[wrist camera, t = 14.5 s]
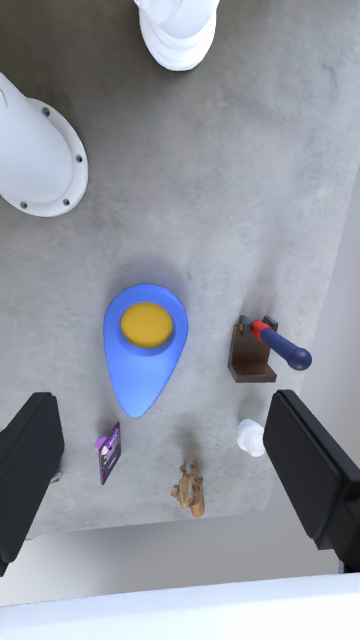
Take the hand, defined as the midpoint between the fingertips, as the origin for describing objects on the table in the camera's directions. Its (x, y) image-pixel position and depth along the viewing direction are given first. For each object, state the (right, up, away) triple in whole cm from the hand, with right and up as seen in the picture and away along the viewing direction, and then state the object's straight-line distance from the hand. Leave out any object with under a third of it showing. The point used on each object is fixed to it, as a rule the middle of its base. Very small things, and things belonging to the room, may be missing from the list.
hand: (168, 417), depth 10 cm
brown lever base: (+13, 0, +31) cm, 34 cm away
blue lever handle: (+14, +2, +22) cm, 26 cm away
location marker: (-6, -1, +31) cm, 31 cm away
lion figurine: (+3, -32, +43) cm, 53 cm away
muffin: (+15, -18, +39) cm, 45 cm away
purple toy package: (-14, -20, +37) cm, 45 cm away
